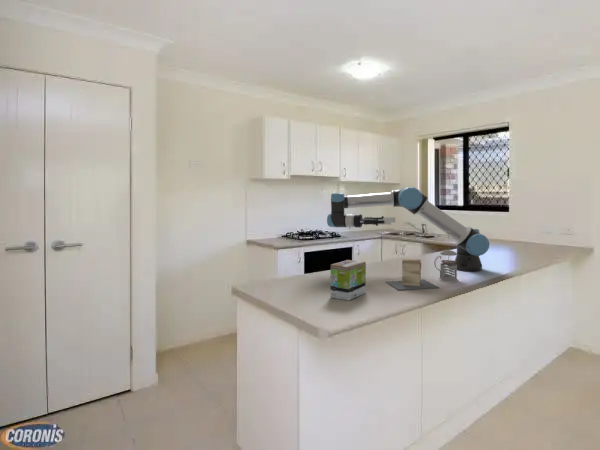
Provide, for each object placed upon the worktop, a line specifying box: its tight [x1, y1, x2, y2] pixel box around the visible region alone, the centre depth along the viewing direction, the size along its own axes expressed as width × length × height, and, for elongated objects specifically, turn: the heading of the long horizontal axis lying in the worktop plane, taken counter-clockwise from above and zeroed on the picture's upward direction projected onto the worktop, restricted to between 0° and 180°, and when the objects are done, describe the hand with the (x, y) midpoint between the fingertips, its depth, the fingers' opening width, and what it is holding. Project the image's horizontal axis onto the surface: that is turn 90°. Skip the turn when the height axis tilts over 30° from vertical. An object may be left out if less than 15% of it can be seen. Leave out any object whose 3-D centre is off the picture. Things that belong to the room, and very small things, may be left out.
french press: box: [433, 231, 460, 284], centre depth 183 cm, size 10×12×25 cm
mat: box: [385, 278, 440, 291], centre depth 176 cm, size 20×16×1 cm
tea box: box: [329, 259, 367, 301], centre depth 161 cm, size 15×10×15 cm, turn 143°
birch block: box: [401, 257, 422, 286], centre depth 175 cm, size 5×8×12 cm, turn 66°
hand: (393, 220), depth 194 cm, fingers open, 13 cm apart
